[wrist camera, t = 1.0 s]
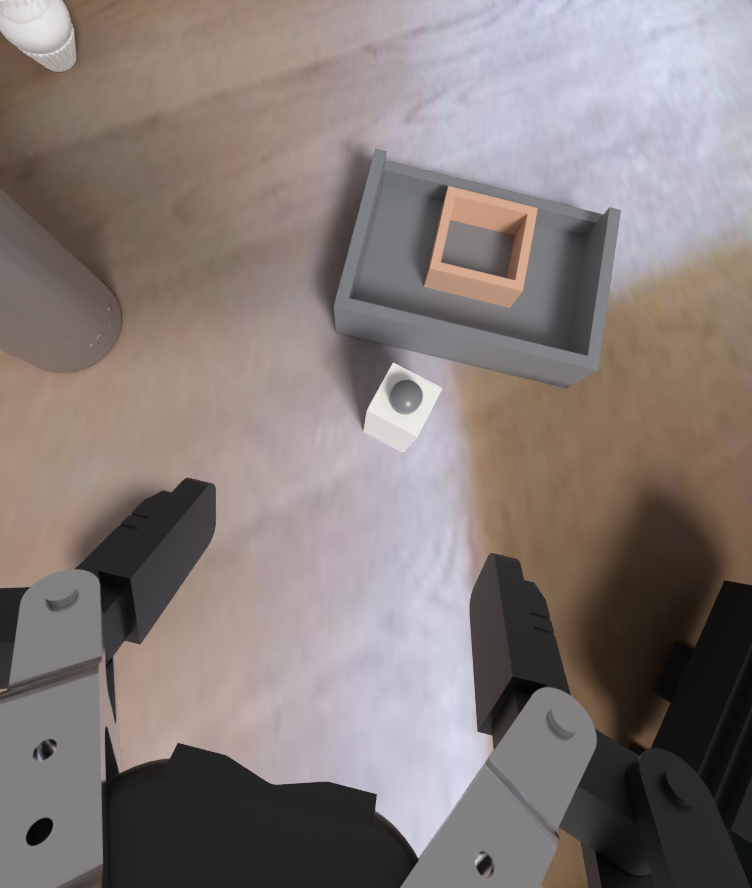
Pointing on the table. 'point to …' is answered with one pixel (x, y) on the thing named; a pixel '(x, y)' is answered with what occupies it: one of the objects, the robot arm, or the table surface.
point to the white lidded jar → (40, 31)
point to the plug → (400, 407)
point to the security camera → (715, 706)
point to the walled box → (477, 274)
